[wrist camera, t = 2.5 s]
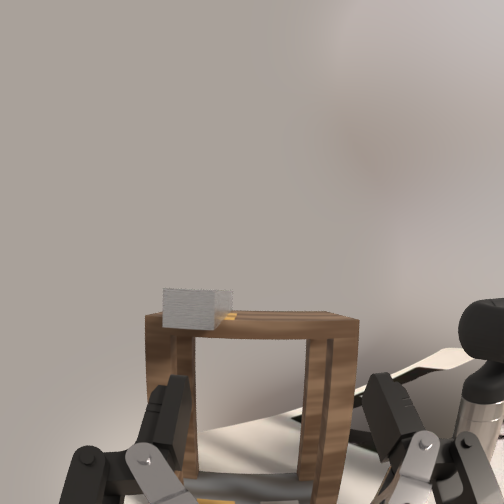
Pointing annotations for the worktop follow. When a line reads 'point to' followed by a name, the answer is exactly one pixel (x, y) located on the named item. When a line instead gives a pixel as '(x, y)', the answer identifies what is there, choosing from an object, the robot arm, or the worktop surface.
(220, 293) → the gray rectangular block
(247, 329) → the switch shelf
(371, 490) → the worktop surface
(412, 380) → the worktop surface
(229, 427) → the worktop surface
